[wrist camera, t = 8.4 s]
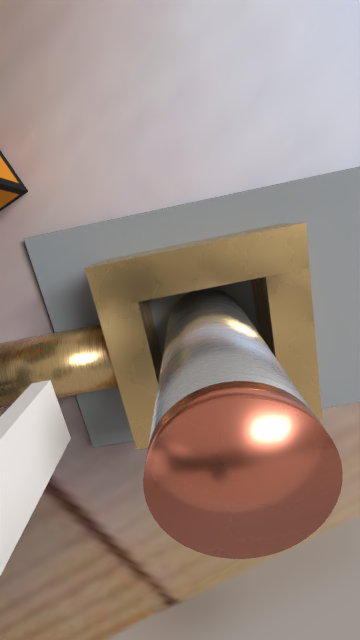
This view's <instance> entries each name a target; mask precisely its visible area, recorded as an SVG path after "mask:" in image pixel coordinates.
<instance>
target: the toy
mask: <svg viewBox="0 0 360 640" xmlns="http://www.w3.org/2000/svg"><path fill="white" fill-rule="evenodd" d="M27 192H28V190H27V189H26V187H25V186H24V184H23V183H22V181H21V180H20V179H19V177H18V176H17V174H16V173H15V171H14V170H13V168H12V167H11V165H10V164H9V163H8V161H7V160H6V158H5V157H4V155H3V154H2V152H1V151H0V211H1V210H2V209H4V208H5V207H7V206H8V205H10V204H11V203H12V202H14V201H15V200H17V199H18V198H19V197H21V196H22V195H24V194H25V193H27Z"/></svg>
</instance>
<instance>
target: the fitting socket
mask: <svg viewBox="0 0 360 640" xmlns="http://www.w3.org/2000/svg"><path fill="white" fill-rule="evenodd" d="M85 271H86V275H87V278H88V282H89V285H90V289H91V292H92V296H93V299H94V303H95V306H96V310H97V313H98V317H99V320H100V324H97V325H91V326H86V327H81V328H76V329H71V330H66V331H61V332H56V333H50V334H45V335H40V336H35V337H30V338H25V339H20V340H14V341H9V342H4V343H0V408H6V407H10V406H11V405H12V404H13V403H14V402H15V401H16V400H17V399H18V398H19V397H20V395H21V394H22V393H23V392H24V391H25V390H26V389H27V388H28V387H29V386H30V385H31V384H32V383H37V382H42V381H48V380H51V383H52V386H53V389H54V392H55V395H56V397H57V398H61V397H66V396H72V395H77V394H83V393H88V392H94V391H99V390H105V389H110V388H116V387H119V390H120V394H121V397H122V401H123V404H124V408H125V411H126V415H127V418H128V422H129V425H130V429H131V432H132V436H133V439H134V443H135V446H136V450H140V449H146V448H148V446H149V439H150V433H151V427H152V420H153V414H154V408H155V402H156V395H157V389H158V383H159V377H160V370H161V364H162V354H161V350H160V345H159V341H158V337H157V333H156V328H155V324H154V320H153V315H152V311H151V307H150V303H149V300H150V299H155V298H160V297H165V296H170V295H176V294H181V293H186V292H191V291H196V290H201V289H206V288H211V287H216V286H221V285H226V284H231V283H236V282H241V281H246V280H251V283H252V291H253V298H254V305H255V313H256V320H257V327H258V333H259V334H260V336H261V337H262V339H263V340H264V341H265V343H266V344H267V346H268V347H269V349H270V350H271V352H272V353H273V355H274V356H275V357H276V359H277V360H278V362H279V363H280V365H281V366H282V368H283V369H284V371H285V372H286V374H287V375H288V376H289V378H290V379H291V381H292V382H293V384H294V385H295V387H296V388H297V390H298V391H299V392H300V394H301V395H302V397H303V398H304V400H305V401H306V403H307V404H308V406H309V407H310V408H311V410H312V411H313V413H314V414H315V416H316V417H317V419H322V410H321V398H320V385H319V373H318V361H317V349H316V337H315V325H314V313H313V301H312V289H311V277H310V265H309V253H308V241H307V229H306V223H280V224H275V225H270V226H265V227H260V228H256V229H251V230H246V231H241V232H236V233H231V234H227V235H222V236H217V237H212V238H207V239H202V240H198V241H193V242H188V243H183V244H178V245H173V246H168V247H164V248H159V249H154V250H149V251H144V252H139V253H135V254H130V255H125V256H120V257H115V258H110V259H106V260H102V261H100V262H98V263H95V264H93V265H91V266H89V267H86V268H85Z"/></svg>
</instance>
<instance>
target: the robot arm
mask: <svg viewBox="0 0 360 640" xmlns="http://www.w3.org/2000/svg"><path fill="white" fill-rule="evenodd" d="M70 439H71V437H70V434H69V431H68V429H67V426H66V423H65V420H64V417H63V414H62V412H61V409H60V406H59V403H58V400H57V397H56V395H55V392H54V389H53V386H52V383H51V380H48V381H42V382H37V383H32V384H31V385H30V386H29V387H28V388H27V389H26V390H25V391H24V392H23V393H22V394H21V395H20V397H19V398H18V399H17V400H16V401H15V402H14V403H13V404H12V405H11V406H10V407H9V408H8V409H7V410H6V411H5V412H4V414H3V415H2V416H1V417H0V575H1V573H2V571H3V569H4V568H5V566H6V564H7V562H8V560H9V558H10V556H11V554H12V552H13V550H14V548H15V546H16V544H17V542H18V540H19V538H20V536H21V534H22V533H23V531H24V529H25V527H26V525H27V523H28V521H29V519H30V517H31V515H32V513H33V511H34V509H35V507H36V505H37V503H38V501H39V499H40V498H41V496H42V494H43V492H44V490H45V488H46V486H47V484H48V482H49V480H50V478H51V476H52V474H53V472H54V470H55V468H56V466H57V464H58V463H59V461H60V459H61V457H62V455H63V453H64V451H65V449H66V447H67V445H68V443H69V441H70Z"/></svg>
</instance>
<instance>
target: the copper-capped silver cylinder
mask: <svg viewBox="0 0 360 640" xmlns="http://www.w3.org/2000/svg"><path fill="white" fill-rule="evenodd" d="M143 482H144V494H145V498H146V502H147V505H148V507H149V510H150V512H151V514H152V515H153V517H154V519H155V520H156V521H157V523H158V524H159V525H160V527H161V528H162V529H163V530H164V531H165V532H166V533H167V534H168V535H170V536H171V537H172V538H173V539H175V540H176V541H178V542H179V543H181V544H183V545H184V546H186V547H188V548H190V549H193V550H195V551H197V552H200V553H203V554H207V555H211V556H215V557H221V558H230V559H246V558H256V557H262V556H267V555H270V554H274V553H277V552H280V551H283V550H285V549H288V548H290V547H292V546H294V545H296V544H298V543H300V542H301V541H303V540H304V539H306V538H307V537H309V536H310V535H311V534H312V533H313V532H315V531H316V530H317V529H318V528H319V527H320V526H321V525H322V524H323V523H324V522H325V520H326V519H327V518H328V516H329V515H330V513H331V512H332V510H333V508H334V506H335V505H336V503H337V500H338V497H339V494H340V491H341V486H342V465H341V460H340V456H339V453H338V450H337V448H336V446H335V444H334V443H333V441H332V439H331V438H330V436H329V435H328V433H327V432H326V430H325V429H324V427H323V426H322V425H321V423H320V422H319V420H318V419H317V417H316V416H315V414H314V413H313V411H312V410H311V408H310V407H309V406H308V404H307V403H306V401H305V400H304V398H303V397H302V395H301V394H300V392H299V391H298V390H297V388H296V387H295V385H294V384H293V382H292V381H291V379H290V378H289V376H288V375H287V374H286V372H285V371H284V369H283V368H282V366H281V365H280V363H279V362H278V360H277V359H276V357H275V356H274V355H273V353H272V352H271V350H270V349H269V347H268V346H267V344H266V343H265V341H264V340H263V339H262V337H261V336H260V334H259V333H258V331H257V330H256V328H255V327H254V325H253V324H252V323H251V321H250V320H249V318H248V317H247V315H246V314H245V312H244V311H243V309H242V308H241V306H240V305H239V304H238V302H237V301H236V300H235V299H234V298H233V297H232V296H230V295H229V294H227V293H225V292H223V291H221V290H217V289H212V288H206V289H201V290H196V291H192V292H189V293H188V294H186V295H184V296H183V297H182V298H180V299H179V300H178V301H177V303H176V304H175V305H174V307H173V309H172V311H171V313H170V316H169V320H168V326H167V333H166V339H165V345H164V351H163V358H162V364H161V370H160V377H159V383H158V389H157V395H156V402H155V408H154V414H153V420H152V427H151V433H150V439H149V446H148V452H147V458H146V464H145V471H144V479H143Z"/></svg>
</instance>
